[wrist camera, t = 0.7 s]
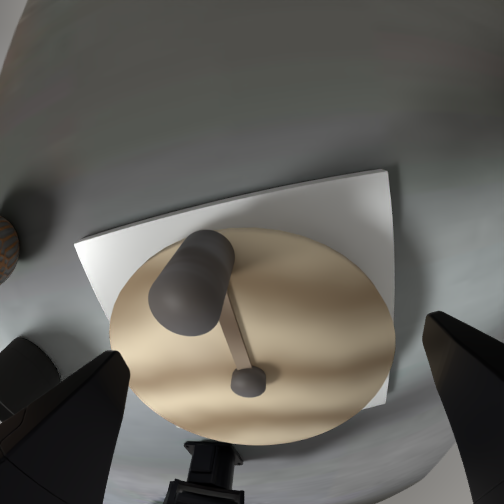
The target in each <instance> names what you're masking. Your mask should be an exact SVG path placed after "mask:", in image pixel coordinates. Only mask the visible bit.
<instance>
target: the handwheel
mask: <svg viewBox="0 0 504 504" xmlns="http://www.w3.org/2000/svg"><path fill="white" fill-rule="evenodd" d="M109 334H110V344H111V349H112V350H116V351H118V352H120V354H121V355H122V357H123V359H124V360H125V362H126V364H127V366H128V367H129V369H130V381H129V387H130V388H131V389H132V391H133V392H134V393H135V394H136V395H137V396H138V397H139V398H140V399H141V400H142V401H143V402H144V403H145V404H146V405H147V406H148V407H149V408H151V409H152V410H153V411H154V412H156V413H157V414H158V415H160V416H161V417H163V418H164V419H166V420H168V421H169V422H171V423H173V424H175V425H176V426H178V427H180V428H183V429H185V430H187V431H189V432H192V433H194V434H197V435H200V436H203V437H206V438H209V439H213V440H217V441H222V442H227V443H233V444H242V445H276V444H283V443H290V442H295V441H299V440H304V439H307V438H310V437H313V436H317V435H319V434H322V433H324V432H326V431H329V430H331V429H333V428H335V427H337V426H339V425H341V424H342V423H344V422H346V421H347V420H349V419H350V418H352V417H353V416H354V415H356V414H357V413H358V412H359V411H361V410H362V409H363V408H364V407H365V406H366V405H367V404H368V403H369V402H370V401H371V400H372V399H373V398H374V397H375V395H376V394H377V393H378V391H379V390H380V388H381V387H382V385H383V384H384V382H385V380H386V378H387V376H388V374H389V371H390V369H391V366H392V363H393V358H394V353H395V330H394V325H393V320H392V317H391V315H390V312H389V310H388V307H387V305H386V303H385V302H384V300H383V298H382V297H381V295H380V293H379V292H378V290H377V289H376V287H375V285H374V284H373V282H372V281H371V280H370V279H369V278H368V277H367V275H366V274H365V273H364V272H363V271H362V270H361V269H360V268H359V267H358V266H357V265H355V264H354V263H353V262H352V261H350V260H349V259H348V258H346V257H345V256H344V255H342V254H341V253H339V252H337V251H335V250H334V249H332V248H330V247H328V246H326V245H325V244H322V243H320V242H317V241H315V240H312V239H310V238H307V237H304V236H301V235H297V234H293V233H289V232H285V231H281V230H273V229H264V228H255V227H253V228H227V229H220V230H214V231H213V230H198V231H195V232H193V233H192V234H190V235H189V236H188V237H187V238H184V239H182V240H180V241H177V242H175V243H173V244H171V245H169V246H167V247H165V248H164V249H162V250H161V251H159V252H158V253H156V254H155V255H153V256H152V257H150V258H149V259H148V260H147V261H146V262H145V263H144V264H143V265H142V266H141V267H140V268H139V269H137V271H136V272H135V273H134V274H133V275H132V276H131V278H130V279H129V280H128V282H127V283H126V284H125V286H124V287H123V288H122V290H121V291H120V293H119V295H118V297H117V299H116V302H115V304H114V306H113V310H112V314H111V318H110V330H109Z"/></svg>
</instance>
